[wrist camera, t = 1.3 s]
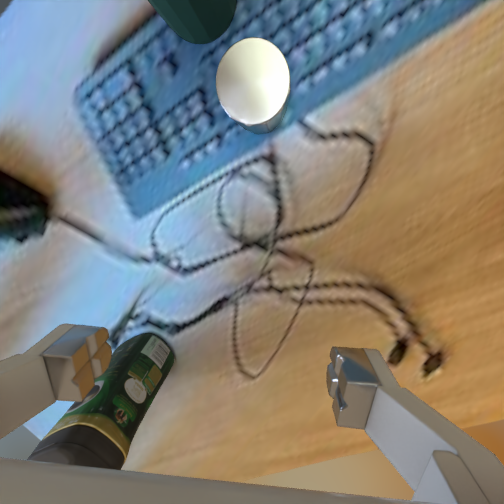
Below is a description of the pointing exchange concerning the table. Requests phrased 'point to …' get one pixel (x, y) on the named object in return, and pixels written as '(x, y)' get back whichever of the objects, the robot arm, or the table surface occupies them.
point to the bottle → (196, 17)
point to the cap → (254, 84)
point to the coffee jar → (110, 408)
